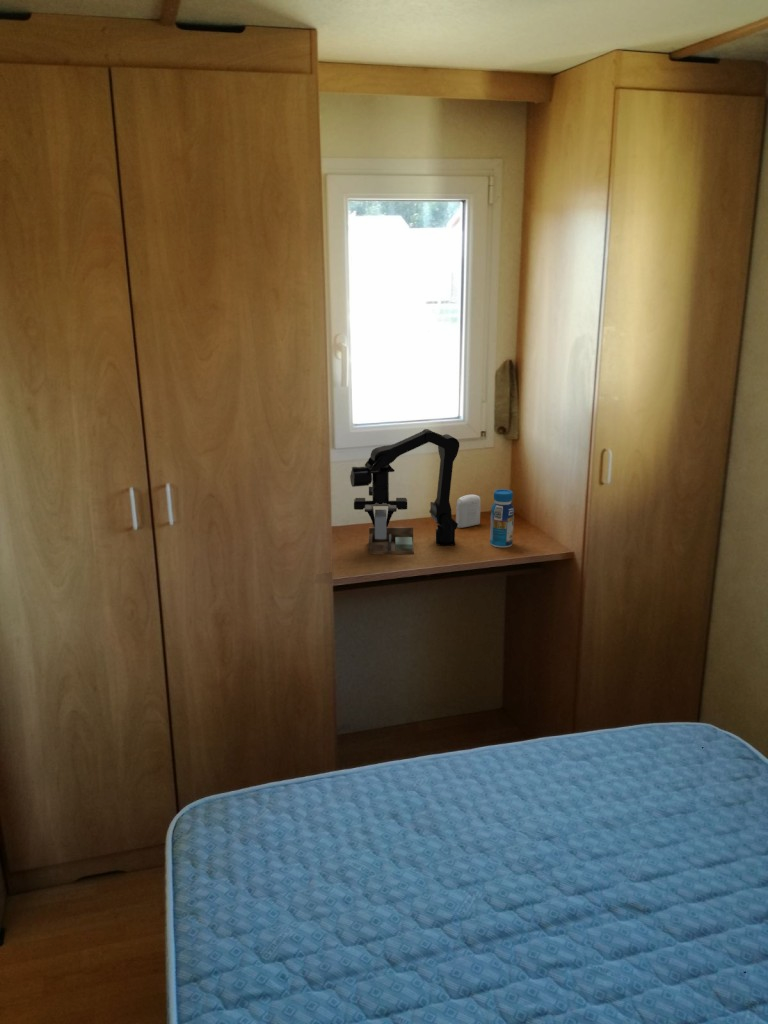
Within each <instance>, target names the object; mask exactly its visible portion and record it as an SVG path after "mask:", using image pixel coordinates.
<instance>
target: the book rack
mask: <svg viewBox="0 0 768 1024" xmlns="http://www.w3.org/2000/svg"><path fill="white" fill-rule="evenodd" d="M368 529H369V530H368V555H414V554H415V548H414V547H415V546H414V526H388V527H387V533H386V539H375V527H374V526H369V527H368Z"/></svg>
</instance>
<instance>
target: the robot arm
mask: <svg viewBox="0 0 768 1024" xmlns="http://www.w3.org/2000/svg"><path fill="white" fill-rule="evenodd" d="M428 443H430V444H433V445H435V446H437V449H438V455H439V458H440V459H439V460H440V462H439V472H438V473H439V474H438V481H437V492H436V499H435V500H434V501H431V502H430V505H429V506H430V509H429V514H430V517H431V519H433V520H434V521H435V524H437V527H436V528H435V542H436V545H438V546H456V541H455V540H456V538H455V537H456V530H457V528H458V527H457V525H458V524H457V523H456V520H454V519H453V515H452V507H451V502H450V495H451V487H452V486H451V485H452V476H453V469H454V461H455V460H456V458H457V455H458V453H459V449H460V441H459V440H458V439H457V438H455V437H454V436H452V435H450V434H447V433H446V434H440V433H438V432H435V431H432V430H430V429H429V428H428V429H427V428H424V429H423V430H422V431H420V432H417V433H415V434H414V435H411V436H409V437H406V438H404V439H402V440H400V441H398V442H396V443H393V444H389V445H388V444H387V445H382V446H379V447H374V449H372V450H371V453H370V457H369V458H368V459H367V461H366V462H365V464H364V466H352V467H351V470H350V471H351V472H350V475H349V479H350V480H349V481H350V485H351V487H353V488H355V487H365V486H366V487H367V486H368V496H369V497H370V496H372V500H366V497H355V498H354V499H353V510H354V511H355V510H360V511H361V510H364V512H366V513H367V514H368V515H369V517H370V520H371V523H372V526H373V527H375V510H374V507H387V513H386V527H389V524H390V521H391V519H392V516H393V514H394V513H395V512H397V510H401V511H402V510H408V499H407V497H395V498H396V499H395V500H390V492H389V491H390V489H389V487H390V486H389V484H390V483H389V482H390V481H389V479H390V477H389V475H390V473H394V472H395V469H394V468H392V466H391V464H392V463H393V462H394V461H395V460H396V459H397V458H399V457H400V456H402V455H403V454H406V453H408V452H411V451H413V450H415V449H417V448H419V447H422V446H424V445H425V444H428ZM369 485H372V486H369Z"/></svg>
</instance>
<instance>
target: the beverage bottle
mask: <svg viewBox="0 0 768 1024" xmlns="http://www.w3.org/2000/svg"><path fill="white" fill-rule="evenodd" d="M513 498H514V492H513V490H511V489H505V488H504V489H500V488H499V489H496V490H493V501H494V502H493V504H492V506H491V509H490V511H491V514H490V533H489V538H490V539H489V543H490V545H491V546H492V547H494V548H503V549H504V548H509V547H511V546H513V539H514V521H515V515H514V513H515V508H514V505H513V503H512V502H513Z"/></svg>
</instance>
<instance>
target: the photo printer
mask: <svg viewBox="0 0 768 1024" xmlns="http://www.w3.org/2000/svg"><path fill="white" fill-rule="evenodd" d="M481 501H482V500H481V497H480V496H479V495H478V494H477V495H476V494H466V495H463V496H460V497H459V498H457V500H456V509H455V512H456V513H455V522H456V523H457V524H458V525H457V528H458V529H461V528H467V527H473V526H477V525H480V523H481V507H482V506H481V505H482V503H481Z"/></svg>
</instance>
